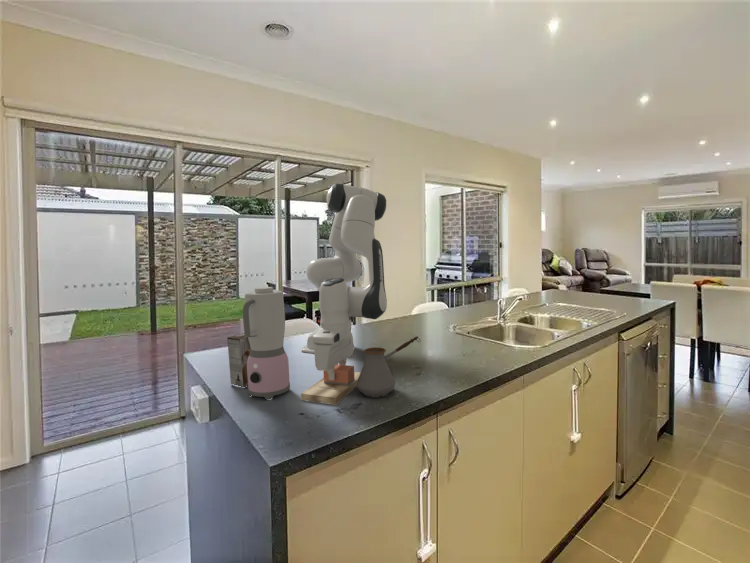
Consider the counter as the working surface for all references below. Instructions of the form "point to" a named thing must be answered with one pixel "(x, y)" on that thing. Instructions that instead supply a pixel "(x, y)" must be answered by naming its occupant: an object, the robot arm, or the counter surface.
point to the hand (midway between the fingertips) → (337, 376)
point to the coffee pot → (377, 372)
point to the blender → (266, 342)
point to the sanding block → (341, 375)
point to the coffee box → (238, 359)
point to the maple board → (329, 391)
